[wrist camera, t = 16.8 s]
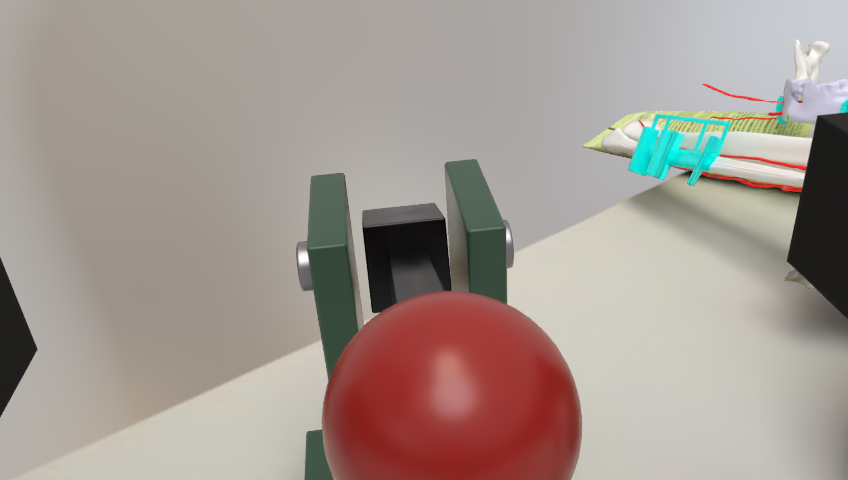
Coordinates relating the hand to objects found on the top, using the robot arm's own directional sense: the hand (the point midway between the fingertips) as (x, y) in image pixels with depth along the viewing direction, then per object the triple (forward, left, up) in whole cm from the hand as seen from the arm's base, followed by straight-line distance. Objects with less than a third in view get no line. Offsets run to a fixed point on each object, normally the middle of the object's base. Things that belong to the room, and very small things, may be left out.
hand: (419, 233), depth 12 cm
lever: (-1, +1, -5) cm, 5 cm away
